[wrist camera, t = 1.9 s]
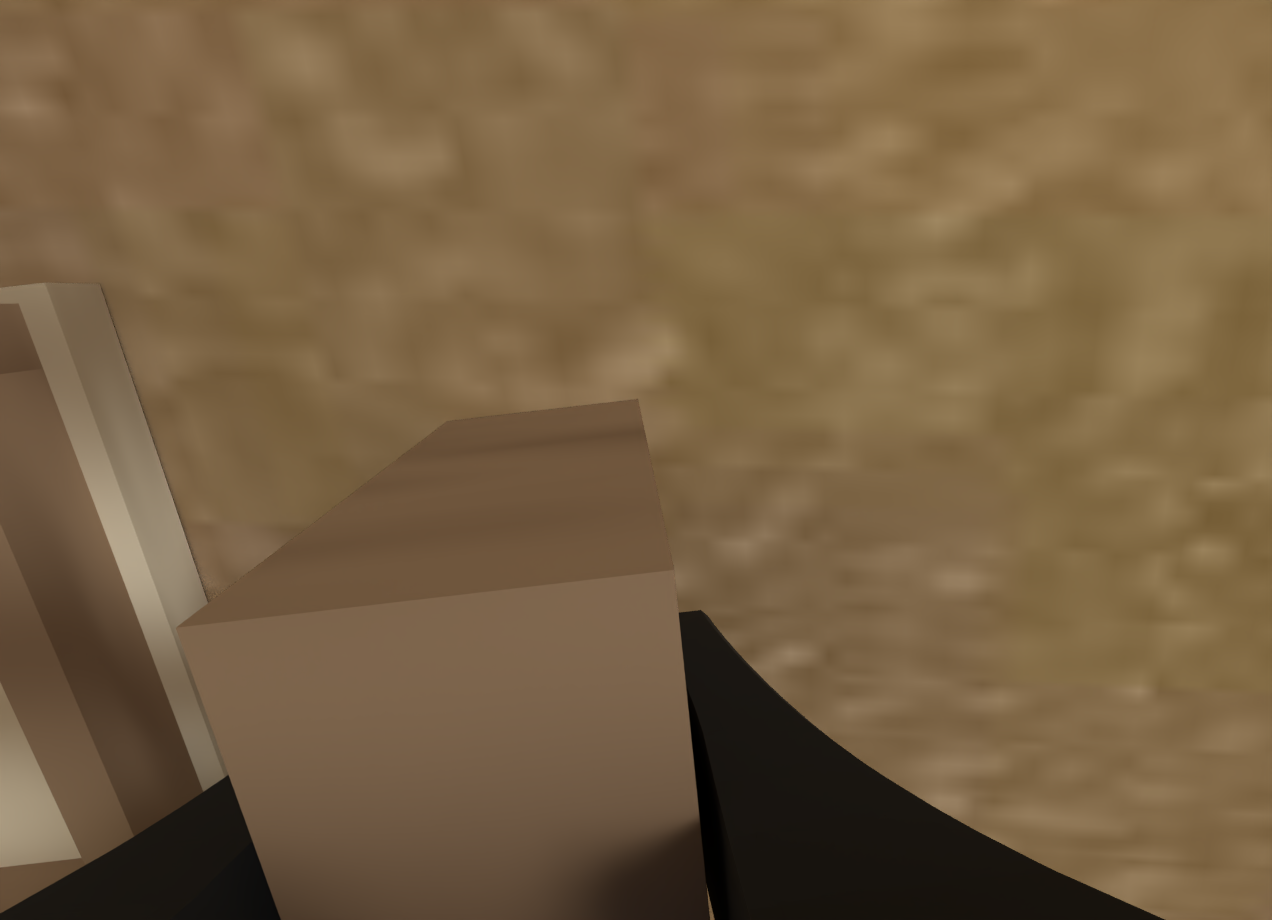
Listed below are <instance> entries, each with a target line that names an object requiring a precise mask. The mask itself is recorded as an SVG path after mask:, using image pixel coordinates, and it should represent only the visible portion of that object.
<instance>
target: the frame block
mask: <svg viewBox="0 0 1272 920" xmlns="http://www.w3.org/2000/svg"><path fill="white" fill-rule="evenodd" d="M176 630H177V633H178V636H179V639H180V641H181V644H182V647H183V650H184V653H185V655H186V658H187V661H188V664H189V666H190V669H191V672H192V675H193V677H194V680H195V683H196V686H197V689H198V691H199V694H200V697H201V700H202V702H203V705H204V708H205V711H206V714H207V716H208V719H209V722H210V725H211V727H212V730H213V733H214V736H215V738H216V741H217V744H218V747H219V750H220V752H221V755H222V758H223V761H224V763H225V766H226V769H227V772H228V775H229V777H230V780H231V783H232V786H233V788H234V791H235V794H236V797H237V799H238V802H239V805H240V808H241V811H242V813H243V816H244V819H245V822H246V824H247V827H248V830H249V833H250V835H251V838H252V841H253V844H254V847H255V849H256V852H257V855H258V858H259V860H260V863H261V866H262V869H263V872H264V874H265V877H266V880H267V883H268V885H269V888H270V891H271V894H272V896H273V899H274V902H275V905H276V908H277V910H278V913H279V916H280V919H281V920H710V916H709V906H708V896H707V886H706V877H705V867H704V857H703V847H702V837H701V828H700V818H699V808H698V798H697V789H696V779H695V769H694V759H693V749H692V740H691V730H690V720H689V710H688V701H687V691H686V681H685V671H684V662H683V652H682V642H681V632H680V622H679V613H678V603H677V593H676V583H675V574H674V567H673V562H672V558H671V553H670V548H669V543H668V539H667V534H666V529H665V525H664V520H663V515H662V511H661V506H660V501H659V496H658V492H657V487H656V482H655V478H654V473H653V468H652V463H651V459H650V454H649V449H648V445H647V440H646V435H645V431H644V426H643V421H642V416H641V412H640V407H639V402H638V399H636V400H627V401H619V402H610V403H601V404H593V405H584V406H575V407H567V408H558V409H549V410H541V411H532V412H523V413H515V414H506V415H497V416H489V417H480V418H471V419H463V420H454V421H447V422H446V423H444V424H443V425H442V426H440V427H439V428H438V429H436V430H435V431H434V432H432V433H431V434H430V435H428V436H427V437H426V438H425V439H423V440H422V441H421V442H419V443H418V444H417V445H415V446H414V447H413V448H411V449H410V450H409V451H407V452H406V453H405V454H403V455H402V456H401V457H400V458H398V459H397V460H396V461H394V462H393V463H392V464H390V465H389V466H388V467H386V468H385V469H384V470H382V471H381V472H380V473H379V474H377V475H376V476H375V477H373V478H372V479H371V480H369V481H368V482H367V483H365V484H364V485H363V486H361V487H360V488H359V489H357V490H356V491H355V492H354V493H352V494H351V495H350V496H348V497H347V498H346V499H344V500H343V501H342V502H340V503H339V504H338V505H336V506H335V507H334V508H332V509H331V510H330V511H329V512H327V513H326V514H325V515H323V516H322V517H321V518H319V519H318V520H317V521H315V522H314V523H313V524H311V525H310V526H309V527H308V528H306V529H305V530H304V531H302V532H301V533H300V534H298V535H297V536H296V537H294V538H293V539H292V540H290V541H289V542H288V543H286V544H285V545H284V546H283V547H281V548H280V549H279V550H277V551H276V552H275V553H273V554H272V555H271V556H269V557H268V558H267V559H265V560H264V561H263V562H261V563H260V564H259V565H258V566H256V567H255V568H254V569H252V570H251V571H250V572H248V573H247V574H246V575H244V576H243V577H242V578H240V579H239V580H238V581H237V582H235V583H234V584H233V585H231V586H230V587H229V588H227V589H226V590H225V591H223V592H222V593H221V594H219V595H218V596H217V597H215V598H214V599H213V600H212V601H210V602H209V603H208V604H206V605H205V606H204V607H202V608H201V609H200V610H198V611H197V612H196V613H194V614H193V615H192V616H190V617H189V618H188V619H187V620H185V621H184V622H183V623H181V624H180V625H179V626H177V627H176Z"/></svg>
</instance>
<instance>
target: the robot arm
mask: <svg viewBox="0 0 1272 920" xmlns="http://www.w3.org/2000/svg"><path fill="white" fill-rule="evenodd" d="M679 622H680V632H681V642H682V652H683V662H684V671H685V681H686V691H687V701H688V710H689V720H690V730H691V740H692V749H693V759H694V769H695V779H696V789H697V798H698V808H699V818H700V828H701V837H702V847H703V857H704V867H705V877H706V884H707V888H708V893H709V897H710V901H711V906H712V910H713V914H714V918H715V920H1164V919H1162V918H1160V917H1158V916H1155V915H1153V914H1151V913H1149V912H1146V911H1144V910H1142V909H1140V908H1137V907H1135V906H1133V905H1131V904H1128V903H1126V902H1124V901H1122V900H1119V899H1117V898H1115V897H1113V896H1110V895H1108V894H1106V893H1104V892H1101V891H1099V890H1097V889H1095V888H1092V887H1090V886H1088V885H1086V884H1083V883H1081V882H1079V881H1077V880H1074V879H1072V878H1070V877H1068V876H1065V875H1063V874H1061V873H1059V872H1056V871H1054V870H1052V869H1050V868H1048V867H1046V866H1044V865H1042V864H1040V863H1038V862H1036V861H1034V860H1032V859H1030V858H1028V857H1026V856H1024V855H1022V854H1020V853H1018V852H1016V851H1014V850H1013V849H1011V848H1009V847H1007V846H1005V845H1003V844H1001V843H999V842H997V841H995V840H993V839H991V838H989V837H987V836H985V835H983V834H982V833H980V832H978V831H976V830H974V829H972V828H970V827H969V826H967V825H965V824H963V823H961V822H960V821H958V820H956V819H954V818H952V817H951V816H949V815H947V814H945V813H943V812H942V811H940V810H938V809H936V808H935V807H933V806H931V805H930V804H928V803H926V802H925V801H923V800H922V799H920V798H918V797H917V796H915V795H913V794H912V793H910V792H909V791H907V790H905V789H904V788H902V787H900V786H899V785H897V784H896V783H894V782H892V781H891V780H889V779H887V778H886V777H884V776H883V775H881V774H880V773H878V772H877V771H875V770H874V769H872V768H871V767H869V766H868V765H866V764H865V763H863V762H862V761H860V760H859V759H857V758H856V757H855V756H853V755H852V754H851V753H849V752H848V751H847V750H845V749H844V748H842V747H841V746H840V745H838V744H837V743H836V742H834V741H833V740H832V739H830V738H829V737H828V736H827V735H825V734H824V733H823V732H822V731H820V730H819V729H818V728H817V727H816V726H814V725H813V724H812V723H811V722H810V721H808V720H807V719H806V718H805V717H804V716H802V715H801V714H800V713H799V712H798V711H797V710H796V709H795V708H793V707H792V706H791V705H790V704H789V703H788V702H787V701H785V700H784V699H783V698H782V697H781V696H780V695H779V694H778V693H777V692H776V691H775V690H774V689H773V688H772V687H770V686H769V685H768V684H767V683H766V682H765V681H764V680H763V679H762V677H761V676H760V675H759V674H758V673H757V672H756V671H755V670H754V669H753V668H752V667H751V666H750V665H749V664H748V663H747V662H746V661H745V660H744V659H743V658H742V657H741V656H740V655H739V654H738V653H737V651H736V650H735V649H734V648H733V647H732V646H731V645H730V643H729V642H728V641H727V640H726V639H725V638H724V636H723V635H722V634H721V633H720V632H719V630H718V629H717V628H716V626H715V625H714V624H713V622H712V621H711V620H710V618H709V617H708V616H707V615H706V614H705V613H704V612H702V611H701V610H698V611H690V612H681V613H679ZM0 920H281V919H280V916H279V913H278V910H277V908H276V905H275V902H274V899H273V896H272V894H271V891H270V888H269V885H268V883H267V880H266V877H265V874H264V872H263V869H262V866H261V863H260V860H259V858H258V855H257V852H256V849H255V847H254V844H253V841H252V838H251V835H250V833H249V830H248V827H247V824H246V822H245V819H244V816H243V813H242V811H241V808H240V805H239V802H238V799H237V797H236V794H235V791H234V788H233V786H232V783H231V780H230V777H229V775H227V776H226V777H224V778H223V779H221V780H220V781H218V782H217V783H216V784H214V785H213V786H211V787H210V788H208V789H207V790H205V791H204V792H202V793H201V794H199V795H198V796H196V797H195V798H193V799H192V800H190V801H189V802H187V803H186V804H184V805H183V806H181V807H180V808H178V809H177V810H175V811H173V812H172V813H170V814H169V815H167V816H166V817H164V818H162V819H161V820H159V821H158V822H156V823H154V824H153V825H151V826H150V827H148V828H147V829H145V830H143V831H142V832H140V833H139V834H137V835H135V836H134V837H132V838H131V839H129V840H127V841H126V842H124V843H122V844H121V845H119V846H117V847H116V848H114V849H113V850H111V851H109V852H107V853H106V854H104V855H102V856H100V857H99V858H97V859H95V860H93V861H92V862H90V863H88V864H86V865H85V866H83V867H81V868H79V869H78V870H76V871H74V872H72V873H70V874H69V875H67V876H65V877H63V878H62V879H60V880H58V881H56V882H55V883H53V884H51V885H49V886H48V887H46V888H44V889H42V890H41V891H39V892H37V893H35V894H34V895H32V896H30V897H28V898H26V899H25V900H23V901H21V902H19V903H18V904H16V905H14V906H12V907H11V908H9V909H7V910H5V911H4V912H2V913H0Z"/></svg>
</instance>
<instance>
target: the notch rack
mask: <svg viewBox="0 0 1272 920" xmlns="http://www.w3.org/2000/svg"><path fill="white" fill-rule="evenodd" d="M206 604H208V601H207V599H206V596H205V593H204V590H203V587H202V584H201V581H200V578H199V575H198V572H197V569H196V566H195V563H194V560H193V557H192V554H191V551H190V548H189V546H188V543H187V540H186V537H185V534H184V531H183V528H182V525H181V522H180V519H179V516H178V513H177V510H176V507H175V504H174V501H173V498H172V496H171V493H170V490H169V487H168V484H167V481H166V478H165V475H164V472H163V469H162V466H161V463H160V460H159V457H158V454H157V451H156V448H155V446H154V443H153V440H152V437H151V434H150V431H149V428H148V425H147V422H146V419H145V416H144V413H143V410H142V407H141V404H140V401H139V398H138V396H137V393H136V390H135V387H134V384H133V381H132V378H131V375H130V372H129V369H128V366H127V363H126V360H125V357H124V354H123V351H122V348H121V345H120V343H119V340H118V337H117V334H116V331H115V328H114V325H113V322H112V319H111V316H110V313H109V310H108V307H107V304H106V301H105V298H104V295H103V293H102V290H101V287H100V284H85V283H38V284H30V285H21V286H12V287H4V288H0V913H2V912H4V911H5V910H7V909H9V908H11V907H12V906H14V905H16V904H18V903H19V902H21V901H23V900H25V899H26V898H28V897H30V896H32V895H34V894H35V893H37V892H39V891H41V890H42V889H44V888H46V887H48V886H49V885H51V884H53V883H55V882H56V881H58V880H60V879H62V878H63V877H65V876H67V875H69V874H70V873H72V872H74V871H76V870H78V869H79V868H81V867H83V866H85V865H86V864H88V863H90V862H92V861H93V860H95V859H97V858H99V857H100V856H102V855H104V854H106V853H107V852H109V851H111V850H113V849H114V848H116V847H117V846H119V845H121V844H122V843H124V842H126V841H127V840H129V839H131V838H132V837H134V836H135V835H137V834H139V833H140V832H142V831H143V830H145V829H147V828H148V827H150V826H151V825H153V824H154V823H156V822H158V821H159V820H161V819H162V818H164V817H166V816H167V815H169V814H170V813H172V812H173V811H175V810H177V809H178V808H180V807H181V806H183V805H184V804H186V803H187V802H189V801H190V800H192V799H193V798H195V797H196V796H198V795H199V794H201V793H202V792H204V791H205V790H207V789H208V788H210V787H211V786H213V785H214V784H216V783H217V782H218V781H220V780H221V779H223V778H224V777H226V776H227V775H228V772H227V769H226V766H225V763H224V761H223V758H222V755H221V752H220V750H219V747H218V744H217V741H216V738H215V736H214V733H213V730H212V727H211V725H210V722H209V719H208V716H207V714H206V711H205V708H204V705H203V702H202V700H201V697H200V694H199V691H198V689H197V686H196V683H195V680H194V677H193V675H192V672H191V669H190V666H189V664H188V661H187V658H186V655H185V653H184V650H183V647H182V644H181V641H180V639H179V636H178V633H177V630H176V627H177V626H179V625H180V624H181V623H183V622H184V621H185V620H187V619H188V618H189V617H190V616H192V615H193V614H194V613H196V612H197V611H198V610H200V609H201V608H202V607H204V606H205V605H206Z"/></svg>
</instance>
